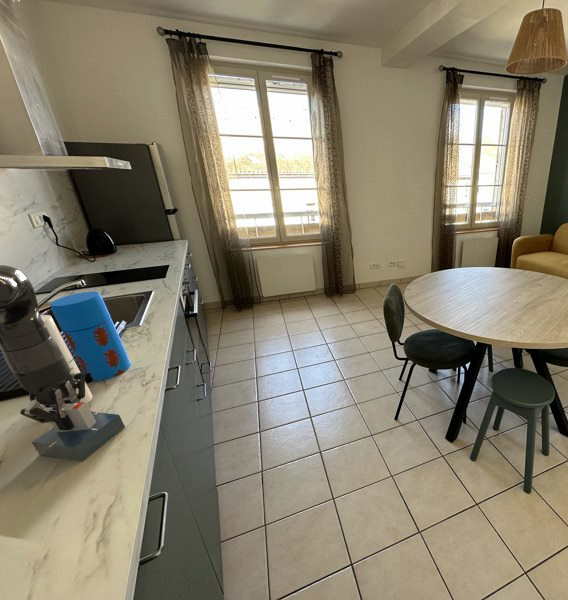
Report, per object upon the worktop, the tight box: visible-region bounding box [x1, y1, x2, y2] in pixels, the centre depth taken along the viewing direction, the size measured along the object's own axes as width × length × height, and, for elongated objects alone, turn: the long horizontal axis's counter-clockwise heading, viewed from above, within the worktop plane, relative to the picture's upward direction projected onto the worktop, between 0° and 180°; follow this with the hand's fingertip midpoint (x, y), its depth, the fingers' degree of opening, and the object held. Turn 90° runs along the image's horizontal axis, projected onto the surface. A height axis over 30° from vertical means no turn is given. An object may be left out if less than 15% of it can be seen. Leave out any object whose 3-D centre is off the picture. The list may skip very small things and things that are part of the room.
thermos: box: [49, 291, 131, 382], centre depth 98 cm, size 11×11×25 cm
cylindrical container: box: [40, 314, 94, 404], centre depth 85 cm, size 7×7×25 cm
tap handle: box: [50, 402, 96, 432], centre depth 74 cm, size 7×2×6 cm, turn 95°
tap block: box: [30, 409, 126, 462], centre depth 76 cm, size 12×11×4 cm
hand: (73, 424), depth 75 cm, fingers closed on tap handle, 2 cm apart
